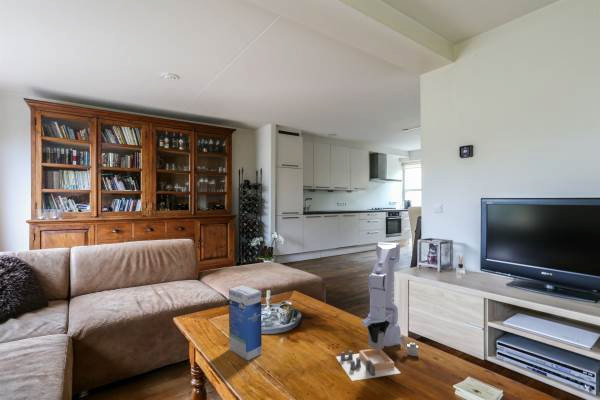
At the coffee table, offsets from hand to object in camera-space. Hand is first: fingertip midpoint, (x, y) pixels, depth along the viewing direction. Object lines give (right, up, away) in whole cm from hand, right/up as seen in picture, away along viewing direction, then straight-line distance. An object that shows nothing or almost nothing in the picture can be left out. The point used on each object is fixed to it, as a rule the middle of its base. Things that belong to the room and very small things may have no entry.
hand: (377, 340), depth 115 cm
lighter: (+14, -10, +7) cm, 19 cm away
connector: (0, -2, +1) cm, 2 cm away
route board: (-4, -9, -1) cm, 10 cm away
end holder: (0, -9, +1) cm, 9 cm away
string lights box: (-52, -9, +10) cm, 54 cm away
